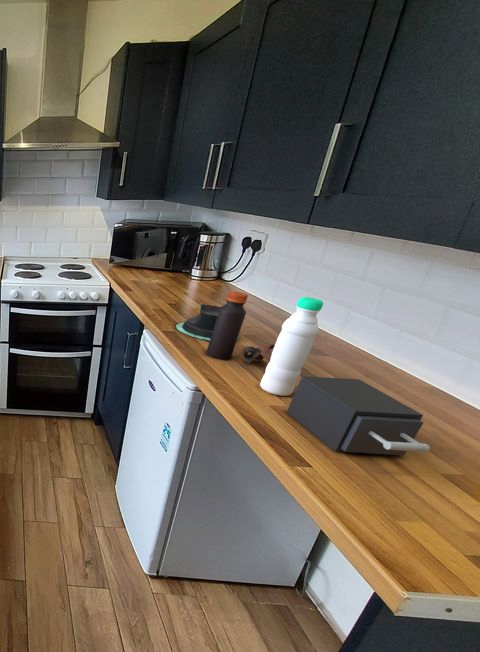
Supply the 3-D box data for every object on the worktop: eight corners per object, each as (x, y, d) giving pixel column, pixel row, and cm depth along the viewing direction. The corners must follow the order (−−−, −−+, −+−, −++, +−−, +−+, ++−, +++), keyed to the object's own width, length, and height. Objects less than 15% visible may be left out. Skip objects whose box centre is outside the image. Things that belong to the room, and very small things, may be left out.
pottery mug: (267, 362, 123) (290, 346, 117) (274, 386, 118) (298, 371, 111) (231, 349, 123) (251, 333, 117) (235, 373, 118) (257, 357, 111)
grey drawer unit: (399, 455, 82) (423, 415, 78) (335, 451, 82) (356, 411, 78) (341, 415, 95) (359, 379, 91) (286, 412, 96) (302, 376, 91)
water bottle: (256, 389, 105) (291, 298, 95) (262, 381, 110) (296, 293, 100) (288, 400, 101) (328, 305, 91) (293, 391, 106) (332, 299, 95)
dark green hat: (172, 316, 157) (229, 324, 152) (172, 353, 146) (233, 363, 141) (185, 288, 145) (247, 296, 140) (186, 326, 134) (253, 336, 129)
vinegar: (225, 361, 121) (247, 298, 113) (202, 354, 126) (221, 292, 118) (234, 356, 125) (255, 294, 117) (211, 349, 130) (230, 289, 122)
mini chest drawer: (428, 472, 76) (451, 437, 72) (365, 468, 76) (385, 434, 73) (348, 417, 93) (363, 387, 89) (297, 414, 93) (310, 384, 90)
